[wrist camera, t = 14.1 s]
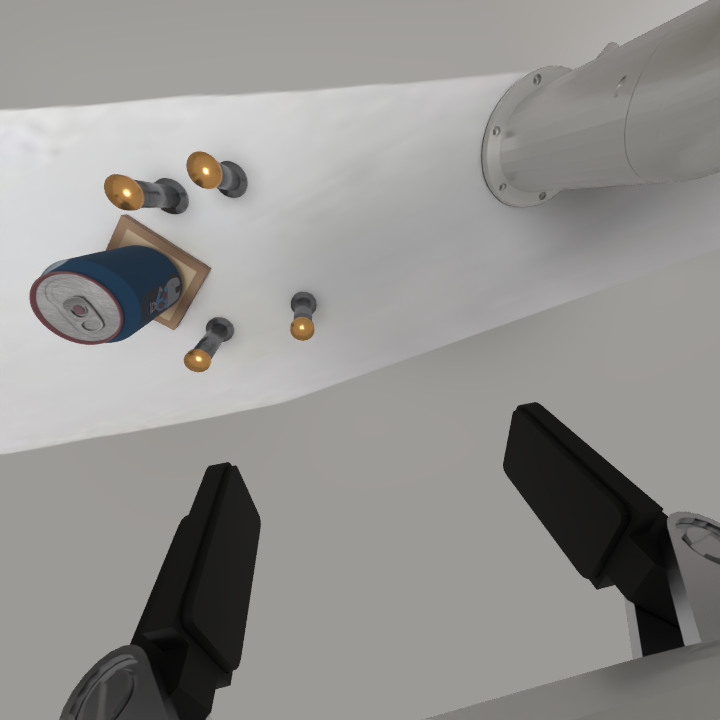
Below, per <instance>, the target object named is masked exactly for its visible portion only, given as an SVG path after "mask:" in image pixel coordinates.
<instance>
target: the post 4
mask: <svg viewBox="0 0 720 720" xmlns="http://www.w3.org/2000/svg"><path fill="white" fill-rule="evenodd" d="M291 308H292V310H293V312H294V320H293V322H292V323H291V328H290V331H291V334H292V336H293V337H294V338H296V339H298V340H301V341H304V340H308V339H310V338H311V337H312V336H313V334H314V324H313V322H312V314H313V313H314V311H315V309H316V301H315V298H314V297H313V296H312V295H311V294H309V293H307V292H299V293H297V294H295V295H294V296H293V298H292V300H291Z"/></svg>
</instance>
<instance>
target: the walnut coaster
mask: <svg viewBox="0 0 720 720" xmlns="http://www.w3.org/2000/svg"><path fill="white" fill-rule="evenodd" d="M131 245H139V246H145V247H149V248H152V249H154V250H156V251H158V252H160V253H161V254H163V255H164V256H166V257H167V258H168V259H169V260H170V261H171V262H172V263H173V264H174V266H175V267H176V269H177V270H178V272H179V274H180V277H181V281H182V292H181V296H180V298H179V300H178V301H177V302H176V303H175V304H174V305H173V306H172V307H170V308H169V309H167V310H166V311H165V312H163V313H162V314H160V315H159V316H158V317H156V318H155V319H153V320H155V321H157V322H159V323H161V324H163V325H165V326H167V327H169V328H171V329H173V330H175V329H176V328H177V327H178V325H179V323H180V322H181V320H182V318H183V316H184V315H185V313H186V311H187V309H188V308H189V306H190V304H191V302H192V301H193V299H194V297H195V295H196V294H197V292H198V290H199V289H200V287H201V285H202V283H203V282H204V280H205V278H206V276H207V275H208V273H209V271H210V269H211V268H210V267H208V266H207V265H205V264H203V263H202V262H200V261H199V260H197V259H196V258H194V257H192V256H191V255H189V254H188V253H186V252H185V251H183V250H181V249H180V248H178V247H177V246H175V245H174V244H172V243H170V242H169V241H167V240H166V239H164V238H163V237H161V236H159V235H158V234H156V233H155V232H153V231H152V230H150V229H148V228H147V227H145V226H144V225H142V224H141V223H139V222H138V221H136V220H134V219H133V218H131V217H130V216H128V215H121V217H120V219H119V222H118V224H117V226H116V228H115V231H114V233H113V235H112V238H111V240H110V242H109V244H108V247H107V249H106V251H107V250H112V249H116V248H121V247H125V246H131Z"/></svg>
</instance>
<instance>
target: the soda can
mask: <svg viewBox="0 0 720 720" xmlns="http://www.w3.org/2000/svg"><path fill="white" fill-rule="evenodd" d="M181 292H182V281H181V277H180V274H179V272H178V270H177V269H176V267H175V266H174V264H173V263H172V262H171V261H170V260H169V259H168V258H167V257H166V256H164V255H163V254H161V253H160V252H158V251H156V250H154V249H152V248H149V247H145V246H139V245H131V246H125V247H121V248H116V249H112V250H107V251H103V252H98V253H93V254H89V255H84V256H80V257H75V258H70V259H66V260H62V261H58V262H56V263H54V264H52V265H50V266H49V267H48V268H47V269H46V270H45V271H44V272H43V273H42V275H41V277H39V278H38V279H37V280H36V281H35V282H34V283H33V285H32V287H31V290H30V304H31V307H32V310H33V312H34V314H35V315H36V317H37V318H38V319H39V320H40V321H41V322H42V324H43V325H45V326H46V327H47V328H48V329H49V330H51V331H52V332H53V333H55V334H56V335H58V336H60V337H62V338H64V339H66V340H69V341H72V342H75V343H79V344H86V345H96V344H102V343H112V342H118V341H121V340H124V339H126V338H128V337H130V336H131V335H132V334H134V333H135V332H137V331H138V330H139V329H141V328H142V327H144V326H145V325H146V324H148V323H149V322H151V321H152V320H153V319H155V318H156V317H158V316H159V315H160V314H162V313H163V312H165V311H166V310H167V309H169V308H170V307H172V306H173V305H174V304H175V303H176V302H177V301H178V300H179V298H180V296H181Z"/></svg>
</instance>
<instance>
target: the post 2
mask: <svg viewBox="0 0 720 720" xmlns="http://www.w3.org/2000/svg"><path fill="white" fill-rule="evenodd" d="M187 171H188V174H189V176H190V178H191V179H192V181H193V182H194V183H195V184H197V185H198V186H200V187H202V188H206V189H214V188H218V189H219V191H220V192H221V193H223V194H224V195H226V196H228V197H232V198H237V197H240V196H242V195H243V194H244V193H245V191H246V189H247V178H246V175H245V173H244V171H243V170H242V169H241V168H240V167H239V166H238V165H237V164H235V163H233V162H230V161H224V162H221V163H219V162H218V161H217V160H216V159H215V158H214V157H212V156H211V155H209V154H207V153H205V152H194V153H192V154H191V155H190V156H189V158H188V160H187Z"/></svg>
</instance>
